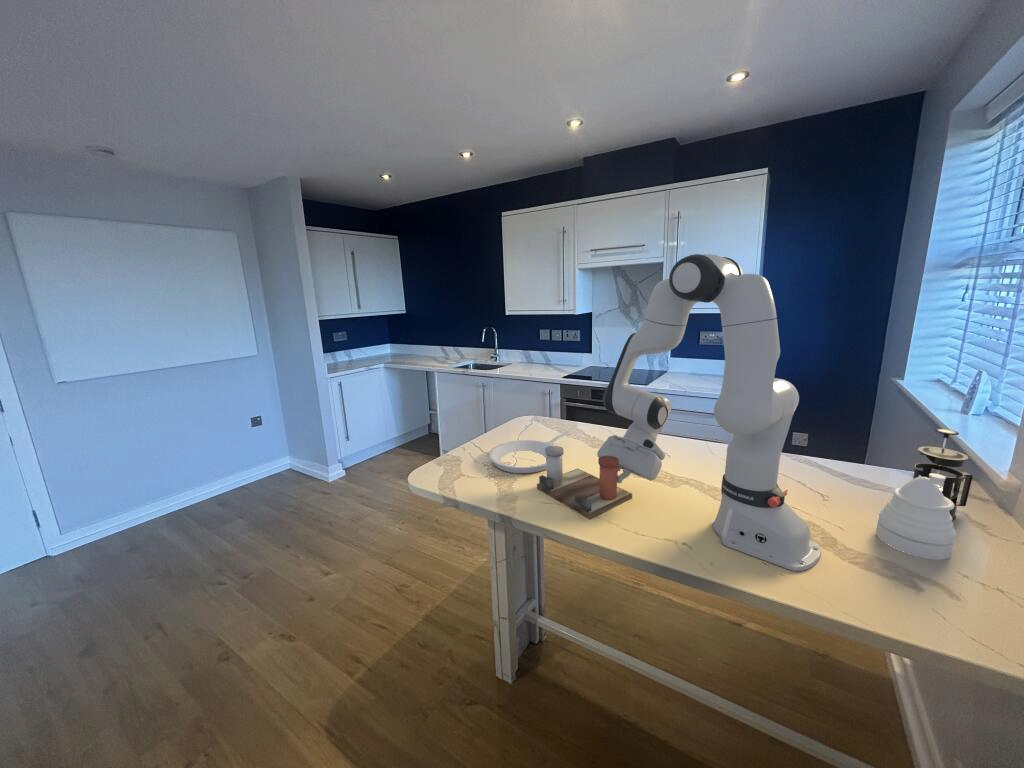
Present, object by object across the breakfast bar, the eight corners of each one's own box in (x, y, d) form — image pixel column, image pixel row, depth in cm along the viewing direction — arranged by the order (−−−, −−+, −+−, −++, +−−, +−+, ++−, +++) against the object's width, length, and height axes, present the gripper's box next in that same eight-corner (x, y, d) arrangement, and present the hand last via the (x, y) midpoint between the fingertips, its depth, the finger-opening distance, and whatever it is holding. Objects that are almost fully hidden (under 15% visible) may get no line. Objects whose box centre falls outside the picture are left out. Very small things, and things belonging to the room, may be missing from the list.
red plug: (622, 495, 118) (623, 460, 115) (608, 502, 115) (609, 465, 112) (607, 488, 123) (607, 454, 120) (593, 494, 119) (594, 459, 117)
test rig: (632, 498, 120) (632, 484, 119) (589, 519, 110) (589, 504, 109) (577, 472, 138) (577, 460, 137) (537, 488, 128) (536, 475, 127)
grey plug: (567, 483, 127) (567, 449, 124) (553, 488, 124) (553, 454, 121) (555, 476, 132) (555, 444, 129) (541, 481, 128) (541, 449, 126)
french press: (914, 518, 105) (931, 434, 100) (894, 500, 113) (909, 423, 108) (974, 525, 101) (995, 438, 96) (948, 506, 110) (967, 426, 104)
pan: (475, 462, 151) (474, 450, 150) (545, 435, 176) (545, 425, 175) (522, 484, 132) (522, 471, 131) (594, 451, 157) (594, 439, 155)
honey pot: (965, 552, 91) (983, 479, 87) (927, 565, 88) (944, 489, 84) (898, 522, 103) (911, 457, 99) (862, 532, 100) (874, 465, 96)
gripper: (606, 428, 130) (584, 465, 126) (661, 447, 113) (638, 489, 110) (615, 438, 133) (594, 474, 130) (670, 457, 117) (648, 498, 113)
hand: (615, 481), depth 120 cm, fingers closed, pressing on red plug
